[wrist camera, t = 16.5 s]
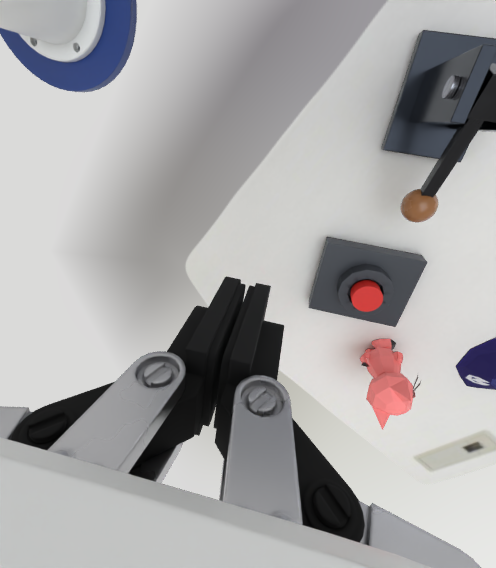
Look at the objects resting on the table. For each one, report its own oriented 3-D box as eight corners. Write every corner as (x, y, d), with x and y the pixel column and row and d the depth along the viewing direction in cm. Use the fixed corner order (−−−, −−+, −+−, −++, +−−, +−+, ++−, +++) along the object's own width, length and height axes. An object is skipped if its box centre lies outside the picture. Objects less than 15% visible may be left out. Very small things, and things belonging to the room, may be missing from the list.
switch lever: (424, 211, 31) (429, 231, 29) (394, 205, 31) (396, 225, 29) (523, 65, 21) (539, 81, 19) (475, 59, 21) (486, 75, 19)
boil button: (346, 300, 38) (347, 308, 37) (355, 276, 36) (357, 283, 35) (374, 307, 38) (377, 314, 36) (384, 283, 36) (387, 290, 34)
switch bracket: (456, 161, 32) (523, 179, 22) (380, 148, 32) (411, 160, 22) (509, 44, 27) (631, -5, 17) (419, 33, 27) (482, -20, 17)
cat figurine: (385, 372, 47) (405, 442, 37) (345, 356, 47) (354, 422, 37) (411, 341, 43) (442, 409, 33) (368, 324, 43) (385, 387, 33)
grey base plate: (308, 299, 43) (308, 315, 40) (327, 236, 38) (328, 247, 35) (391, 318, 42) (398, 335, 39) (421, 255, 37) (433, 268, 34)
